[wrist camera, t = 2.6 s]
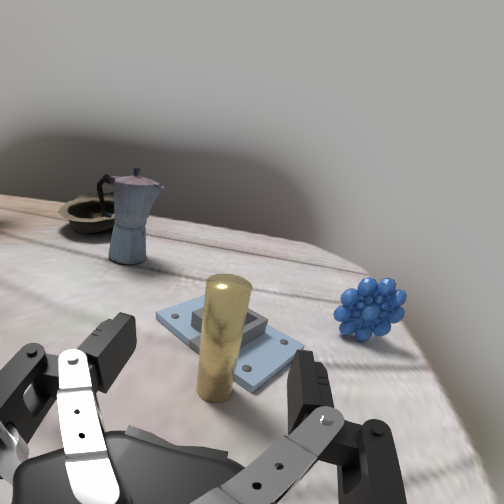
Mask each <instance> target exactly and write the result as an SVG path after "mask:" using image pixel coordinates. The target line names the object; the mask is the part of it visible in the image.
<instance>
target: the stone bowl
mask: <svg viewBox="0 0 504 504" xmlns="http://www.w3.org/2000/svg"><path fill="white" fill-rule="evenodd" d="M103 196H104V202H105V208H106V212H107V213H111V214H112V217H111V218H107V217H104V216H102V209H101V205H100V200H99V196H98V193H92V194H91V193H90V194H84V195H80V196H79V197H78V198H76V199H75V200H74V201H69V202H68V203H66V204H64V205H63V206H61V207H60V209H59V211H58V213H60V215H61V216H63V217H64V218H66V219H68V220H69V221H70V224H71V225H72V227H73V229H74V230H75V231H78V232H80V233H82V234H89V233H95V232H100V231H103V230H106V229H110V228H114V224H115V222H114V221H115V218H114V216H115V213H114V192H111V193H103Z"/></svg>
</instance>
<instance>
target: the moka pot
mask: <svg viewBox="0 0 504 504" xmlns="http://www.w3.org/2000/svg"><path fill="white" fill-rule="evenodd" d="M140 171H141V170H140V169H139V168H135V169H134V175H133V176H127V177H116V176H110V175H107V174H105V175H104V176H103V178H102V179H100V181H99V182H98V183H97V191H98V196H99V200H100V205H101V209H102V216H104V217H107V218H111V217H112V214H111V213H107V212H106V208H105V202H104V196H103V190H102V184H103V183H105V182H106V183H108V184H110V185H114V213H115V216H114V218H115V221H114V222H115V224H114V228H113V232H112V238H111V243H110V249H109V258H110V259H111V260H113V261H115V262H117V263H121V264H138V263H141V262H143V261H144V260H145V259H146V230H145V225H146V221H147V218H148V217H149V213H150V209H151V206H152V204H153V203H154V201H155V199H156V197H157V196H158V194H159V193H160V191H161V190H162V189H164V187H163V186H162V185H161V184H159V183H156V182H154V181H152V180H149V179H146V178H143V177H141V176H139V173H140Z"/></svg>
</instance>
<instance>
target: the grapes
mask: <svg viewBox="0 0 504 504" xmlns="http://www.w3.org/2000/svg"><path fill="white" fill-rule="evenodd" d="M395 288H396V283H395V281H394V280H393V279H390V278H385V279H383V280H381V281H380V282H379V284H378V285H377V282H376V280H375V279H373V278H370V277H369V278H365V279H363V280H362V281H361V282H360V283H359V284H358V290H356V289H353V288H351V289H348V290H345V292H344V293H343V294H342V295H341V302H342V304H343V305H341V306H339V307H338V308H337V309H336V310H335V311H334V314H333V315H334V318H335V320H336V321H338V322H342V323H341V324H340V327H339V330H340V332H341V334H343V335H351V334H353V333H354V332H355V334H354V335H355V338H356V339H357V340H359V341H365V340H367V339H369V338H370V337H371V336H372V333H374V335H376V336H384V335H386V334H388V333H389V331H390V329H391V324H390V323H397V322H399V321H401V320H402V318H403V317H404V309H403V308H402V307H400V306H401V305H402V304H404V302H405V301H406V296H407V295H406V293H405V291H403V290H400V289H399V290H395ZM394 290H395V291H394Z"/></svg>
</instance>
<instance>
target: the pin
mask: <svg viewBox="0 0 504 504" xmlns="http://www.w3.org/2000/svg"><path fill="white" fill-rule="evenodd" d="M251 289H252V285H251V284H250V282H249V281H247V280H246V279H244V278H242V277H239V276H236V275H231V274H216V275H212V276H210V277H209V278H208V279H207V283H206V292H205V301H204V311H203V320H202V330H201V341H200V352H199V364H198V376H197V393H198V395H199V396H200V397H201V398H202V399H204V400H206V401H208V402H212V403H220V402H223V401H226V400H227V399H228V398H229V397H230V395H231V391H232V386H233V381H234V376H235V371H236V366H237V361H238V356H239V351H240V346H241V341H242V336H243V330H244V325H245V320H246V315H247V310H248V305H249V299H250V294H251Z"/></svg>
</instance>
